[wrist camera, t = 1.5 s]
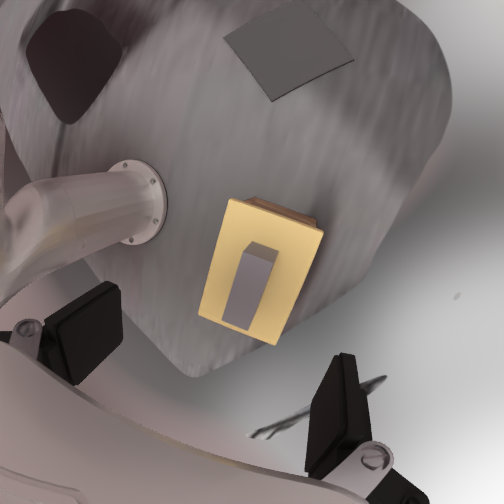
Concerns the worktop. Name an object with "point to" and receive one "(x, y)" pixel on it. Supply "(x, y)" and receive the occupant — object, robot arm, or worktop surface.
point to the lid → (257, 270)
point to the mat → (287, 48)
